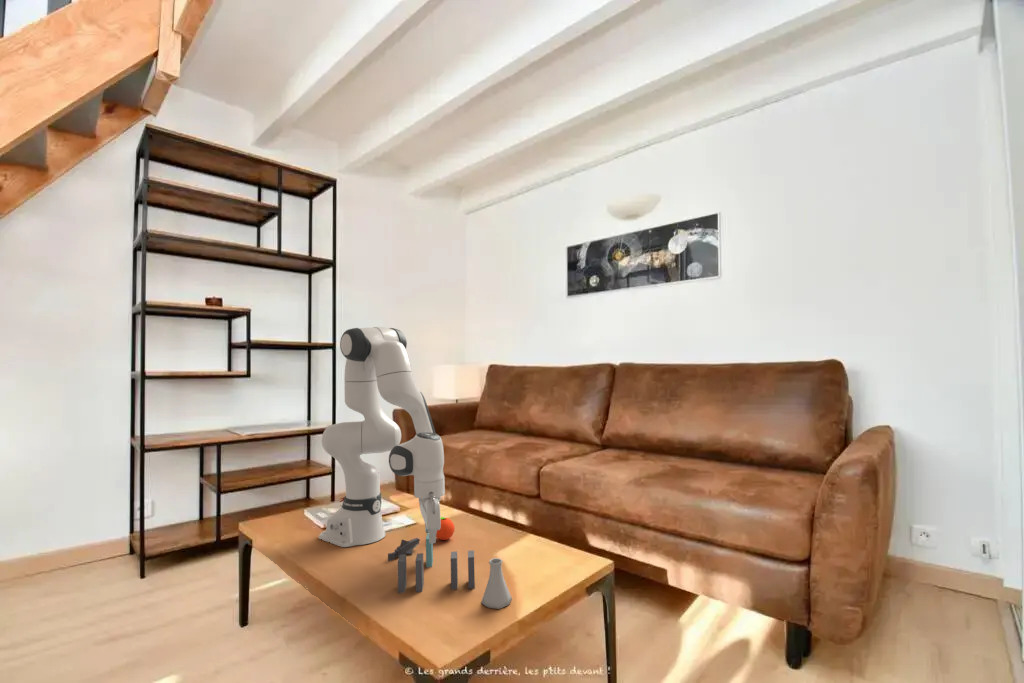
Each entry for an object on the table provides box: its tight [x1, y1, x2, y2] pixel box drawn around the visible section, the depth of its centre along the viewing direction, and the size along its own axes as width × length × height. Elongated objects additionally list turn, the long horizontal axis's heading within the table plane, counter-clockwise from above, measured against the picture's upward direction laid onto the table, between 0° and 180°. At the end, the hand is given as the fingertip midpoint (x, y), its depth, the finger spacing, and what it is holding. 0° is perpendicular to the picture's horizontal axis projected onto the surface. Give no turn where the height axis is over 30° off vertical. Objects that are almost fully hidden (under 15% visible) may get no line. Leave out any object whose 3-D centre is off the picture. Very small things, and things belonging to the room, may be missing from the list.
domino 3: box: [425, 533, 434, 568], centre depth 141 cm, size 2×4×8 cm, turn 5°
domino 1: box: [397, 554, 408, 594], centre depth 126 cm, size 2×4×8 cm, turn 5°
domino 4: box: [450, 551, 459, 591], centre depth 127 cm, size 2×4×8 cm, turn 5°
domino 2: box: [414, 552, 425, 593], centre depth 127 cm, size 2×4×8 cm, turn 5°
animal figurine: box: [387, 537, 421, 562], centre depth 148 cm, size 12×4×5 cm, turn 140°
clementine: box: [436, 516, 456, 541], centre depth 160 cm, size 8×7×7 cm
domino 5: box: [467, 549, 476, 590], centre depth 128 cm, size 2×4×8 cm, turn 5°
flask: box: [480, 557, 513, 610], centre depth 119 cm, size 7×7×10 cm
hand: (430, 537), depth 141 cm, fingers open, 8 cm apart
